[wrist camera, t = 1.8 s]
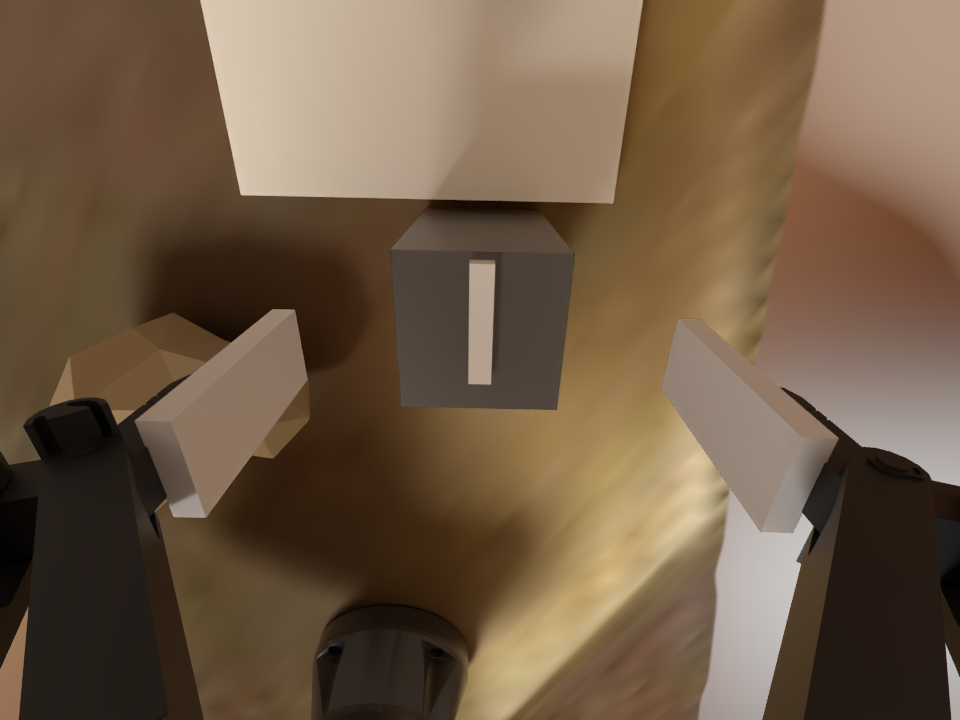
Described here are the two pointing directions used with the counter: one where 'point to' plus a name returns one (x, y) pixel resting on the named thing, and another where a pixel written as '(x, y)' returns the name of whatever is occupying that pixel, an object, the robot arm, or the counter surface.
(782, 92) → the counter surface
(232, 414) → the robot arm
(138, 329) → the low-poly potato
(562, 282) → the grey block with stripe
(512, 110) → the panel
